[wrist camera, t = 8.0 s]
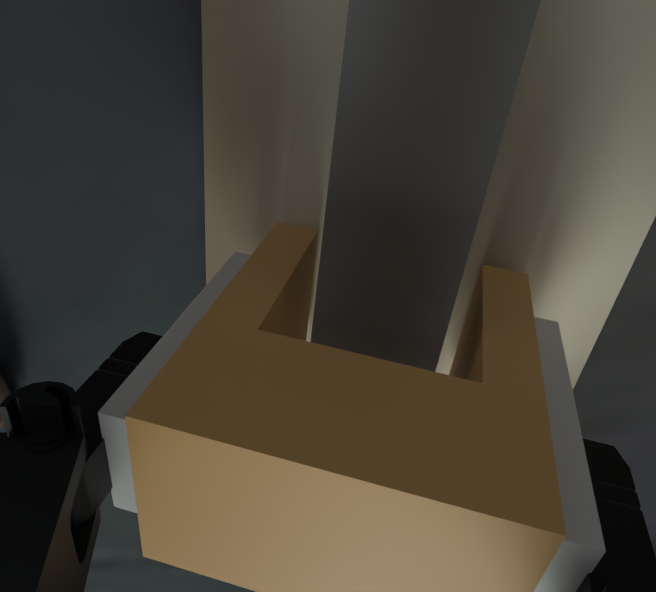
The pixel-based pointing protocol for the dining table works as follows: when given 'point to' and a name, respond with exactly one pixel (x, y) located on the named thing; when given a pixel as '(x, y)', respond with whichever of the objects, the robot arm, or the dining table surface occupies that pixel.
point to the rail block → (434, 157)
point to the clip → (347, 447)
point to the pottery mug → (3, 394)
